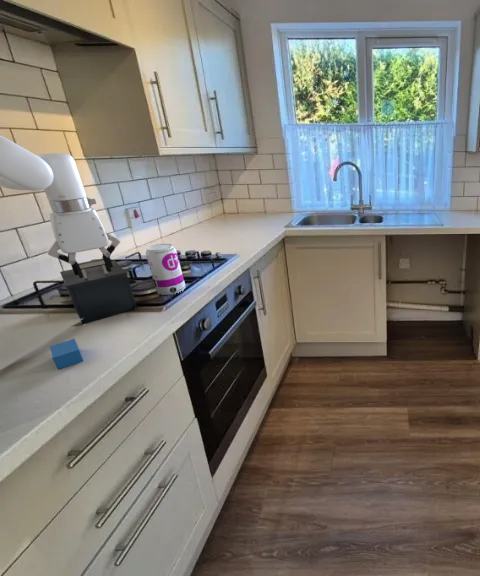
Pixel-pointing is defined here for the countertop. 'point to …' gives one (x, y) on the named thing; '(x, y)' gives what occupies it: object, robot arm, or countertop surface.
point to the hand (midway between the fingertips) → (95, 273)
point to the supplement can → (165, 269)
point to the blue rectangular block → (66, 353)
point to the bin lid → (92, 273)
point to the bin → (102, 299)
